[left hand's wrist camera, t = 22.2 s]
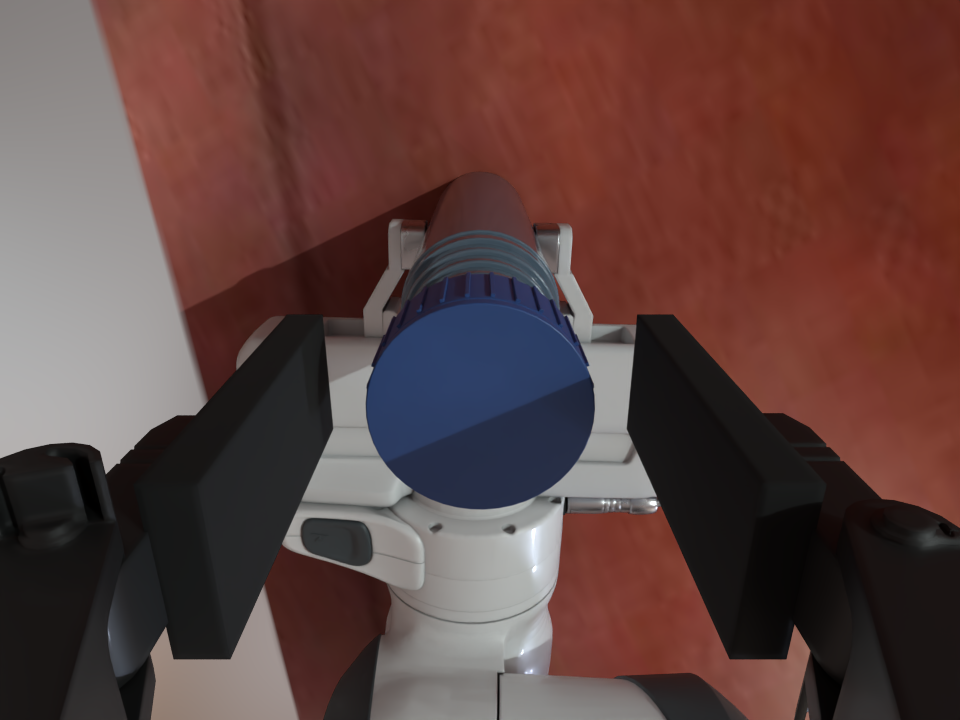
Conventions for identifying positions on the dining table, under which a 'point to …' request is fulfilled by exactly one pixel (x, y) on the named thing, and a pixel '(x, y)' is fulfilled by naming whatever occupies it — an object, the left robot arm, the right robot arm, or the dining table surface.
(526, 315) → the cap
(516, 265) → the bottle
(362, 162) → the dining table surface
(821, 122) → the dining table surface
